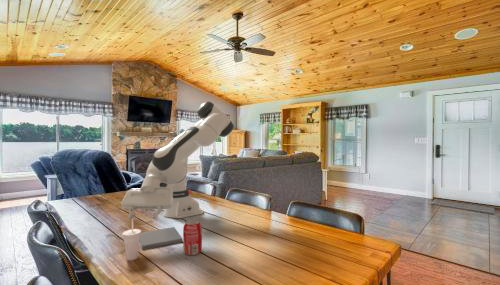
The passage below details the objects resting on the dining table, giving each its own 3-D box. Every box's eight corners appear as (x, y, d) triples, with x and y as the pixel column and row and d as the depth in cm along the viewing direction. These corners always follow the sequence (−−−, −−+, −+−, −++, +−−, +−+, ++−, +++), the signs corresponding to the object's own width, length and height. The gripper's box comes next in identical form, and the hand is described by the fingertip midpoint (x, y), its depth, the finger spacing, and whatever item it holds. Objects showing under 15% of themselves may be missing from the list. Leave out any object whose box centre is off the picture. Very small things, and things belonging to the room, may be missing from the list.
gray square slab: (174, 230, 124) (174, 227, 124) (182, 241, 110) (182, 238, 110) (138, 236, 116) (137, 232, 116) (141, 249, 102) (141, 245, 102)
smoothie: (144, 254, 98) (143, 217, 98) (137, 262, 92) (137, 223, 91) (127, 254, 98) (126, 217, 98) (119, 262, 91) (118, 223, 91)
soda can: (194, 246, 105) (194, 217, 104) (205, 251, 100) (205, 221, 100) (179, 252, 99) (179, 221, 99) (191, 258, 95) (191, 225, 94)
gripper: (125, 184, 109) (113, 213, 100) (173, 184, 109) (165, 213, 100) (130, 192, 114) (119, 221, 104) (176, 192, 114) (169, 221, 104)
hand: (142, 217), depth 102 cm, fingers open, 8 cm apart
